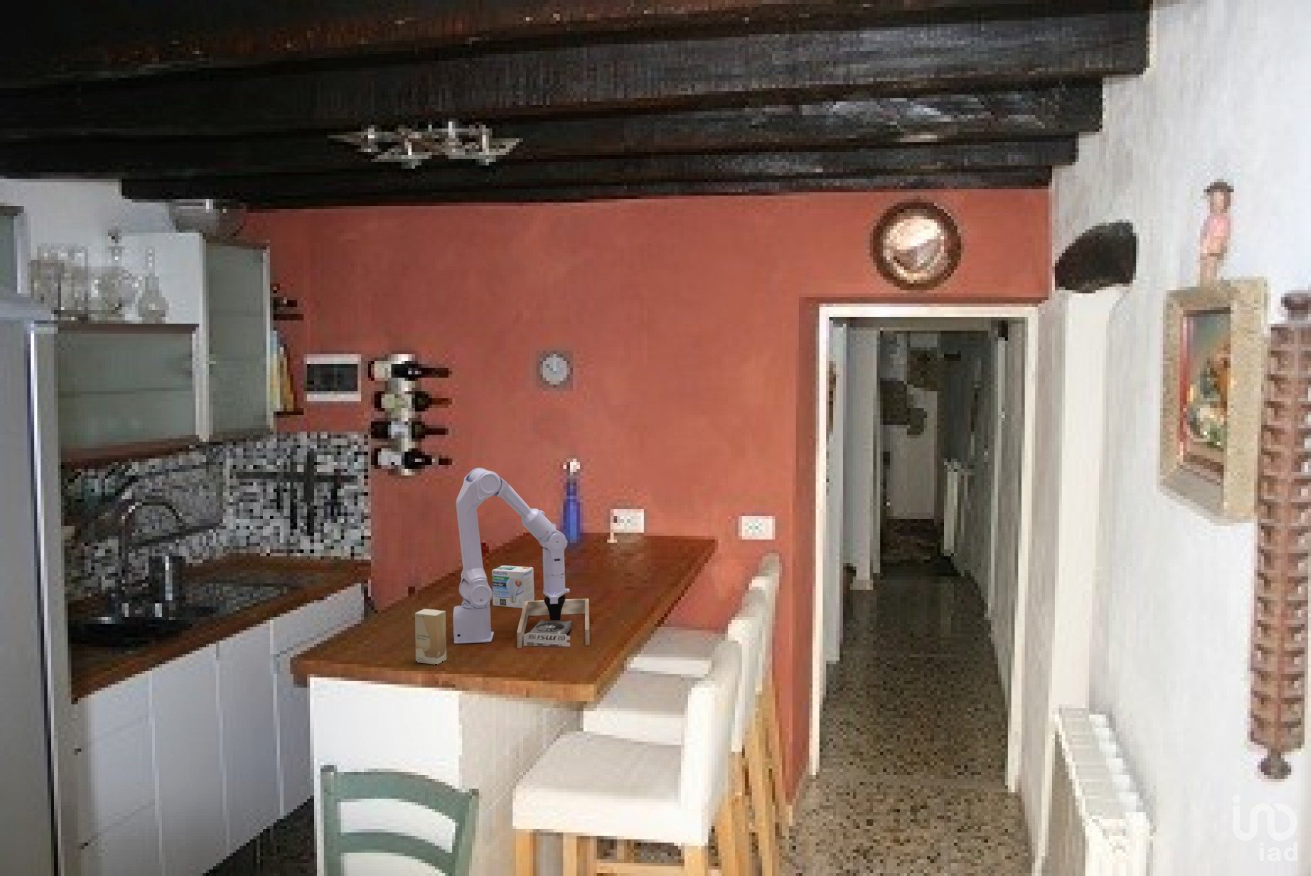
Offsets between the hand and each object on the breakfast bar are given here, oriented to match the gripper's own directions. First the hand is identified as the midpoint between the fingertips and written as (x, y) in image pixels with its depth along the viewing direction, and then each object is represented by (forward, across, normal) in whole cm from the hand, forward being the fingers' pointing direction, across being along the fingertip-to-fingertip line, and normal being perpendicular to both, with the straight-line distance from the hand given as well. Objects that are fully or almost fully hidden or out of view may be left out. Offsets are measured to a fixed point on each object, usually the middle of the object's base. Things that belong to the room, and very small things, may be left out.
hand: (555, 623), depth 263 cm
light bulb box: (+1, +26, +13) cm, 29 cm away
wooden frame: (+1, -2, 0) cm, 2 cm away
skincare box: (+1, -25, +29) cm, 39 cm away
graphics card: (+2, -10, 0) cm, 10 cm away
